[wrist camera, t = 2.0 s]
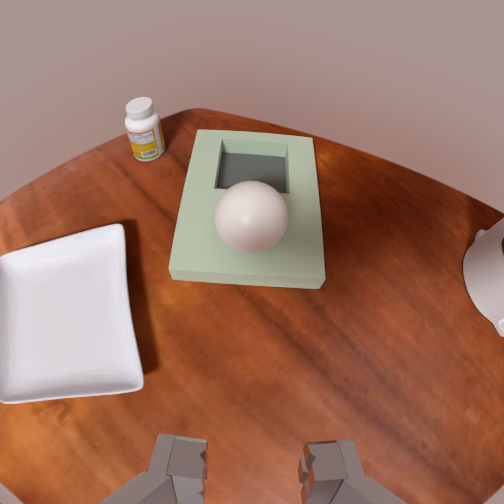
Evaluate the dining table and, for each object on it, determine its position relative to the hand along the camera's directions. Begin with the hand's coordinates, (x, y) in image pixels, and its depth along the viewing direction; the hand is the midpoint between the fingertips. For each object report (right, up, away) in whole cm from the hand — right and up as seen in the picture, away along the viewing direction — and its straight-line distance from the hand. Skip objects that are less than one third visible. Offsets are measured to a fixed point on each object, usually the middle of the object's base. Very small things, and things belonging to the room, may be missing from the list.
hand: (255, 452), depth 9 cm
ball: (0, +10, +26) cm, 28 cm away
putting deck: (0, +13, +36) cm, 38 cm away
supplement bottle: (-17, +23, +40) cm, 49 cm away
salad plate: (-24, -3, +27) cm, 36 cm away
